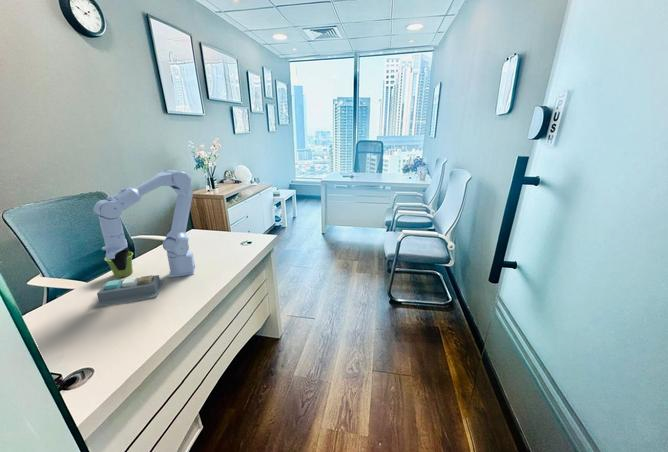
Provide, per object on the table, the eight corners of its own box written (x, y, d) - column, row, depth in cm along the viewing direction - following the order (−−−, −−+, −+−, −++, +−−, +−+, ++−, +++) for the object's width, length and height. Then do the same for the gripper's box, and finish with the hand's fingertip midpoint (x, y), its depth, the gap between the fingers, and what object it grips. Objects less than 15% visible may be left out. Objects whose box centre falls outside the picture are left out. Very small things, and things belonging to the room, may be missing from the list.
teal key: (122, 287, 98) (120, 279, 97) (119, 292, 95) (116, 284, 94) (110, 289, 97) (108, 281, 96) (106, 294, 94) (104, 286, 93)
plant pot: (122, 281, 106) (117, 261, 104) (103, 278, 108) (98, 259, 105) (142, 270, 115) (138, 252, 112) (124, 268, 117) (120, 250, 114)
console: (163, 280, 108) (161, 272, 106) (156, 297, 96) (154, 288, 95) (109, 288, 101) (106, 279, 100) (94, 307, 90) (91, 297, 88)
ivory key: (138, 285, 100) (136, 277, 99) (135, 290, 97) (133, 281, 96) (126, 287, 99) (124, 279, 98) (123, 292, 96) (121, 283, 95)
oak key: (153, 283, 102) (151, 275, 101) (151, 287, 99) (149, 279, 98) (142, 284, 101) (140, 276, 100) (140, 289, 98) (138, 281, 97)
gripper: (107, 229, 96) (115, 262, 100) (90, 242, 83) (100, 280, 88) (130, 227, 99) (137, 260, 103) (117, 240, 86) (126, 277, 90)
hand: (122, 269), depth 95 cm, fingers closed
